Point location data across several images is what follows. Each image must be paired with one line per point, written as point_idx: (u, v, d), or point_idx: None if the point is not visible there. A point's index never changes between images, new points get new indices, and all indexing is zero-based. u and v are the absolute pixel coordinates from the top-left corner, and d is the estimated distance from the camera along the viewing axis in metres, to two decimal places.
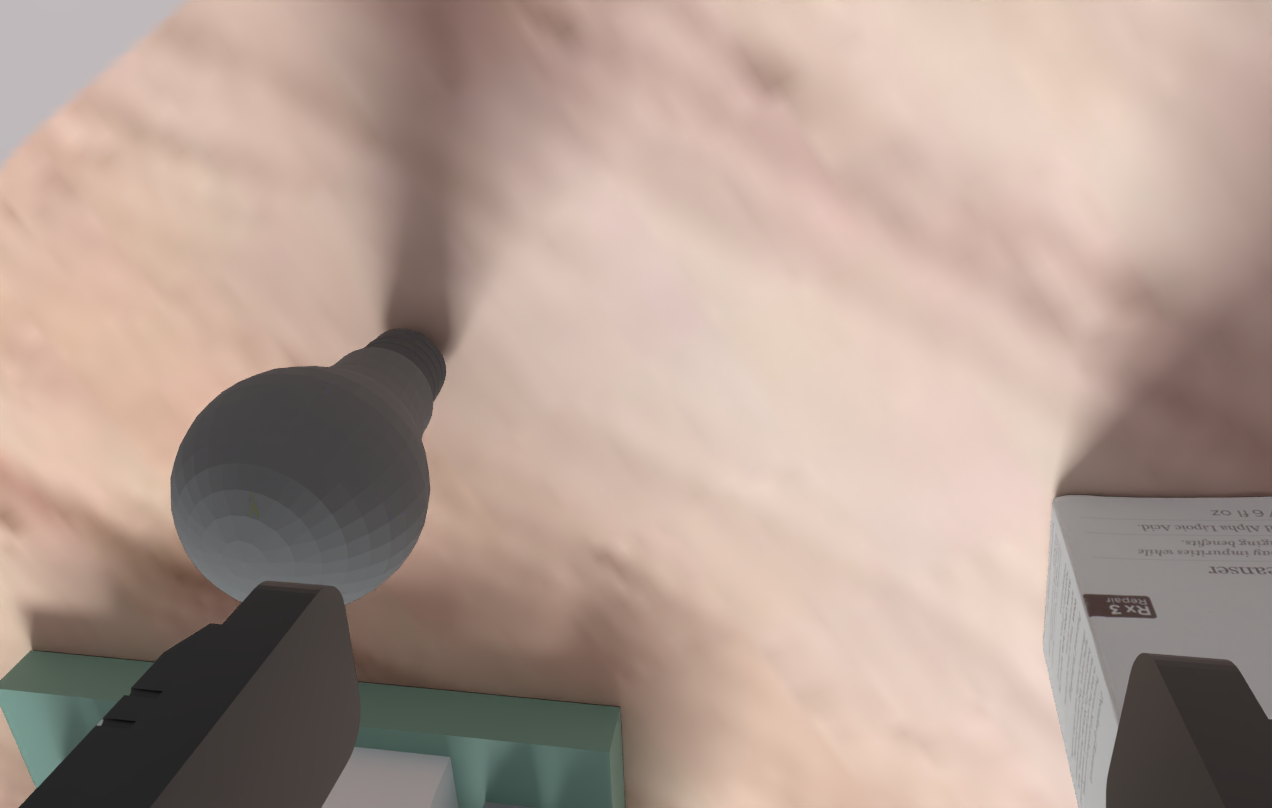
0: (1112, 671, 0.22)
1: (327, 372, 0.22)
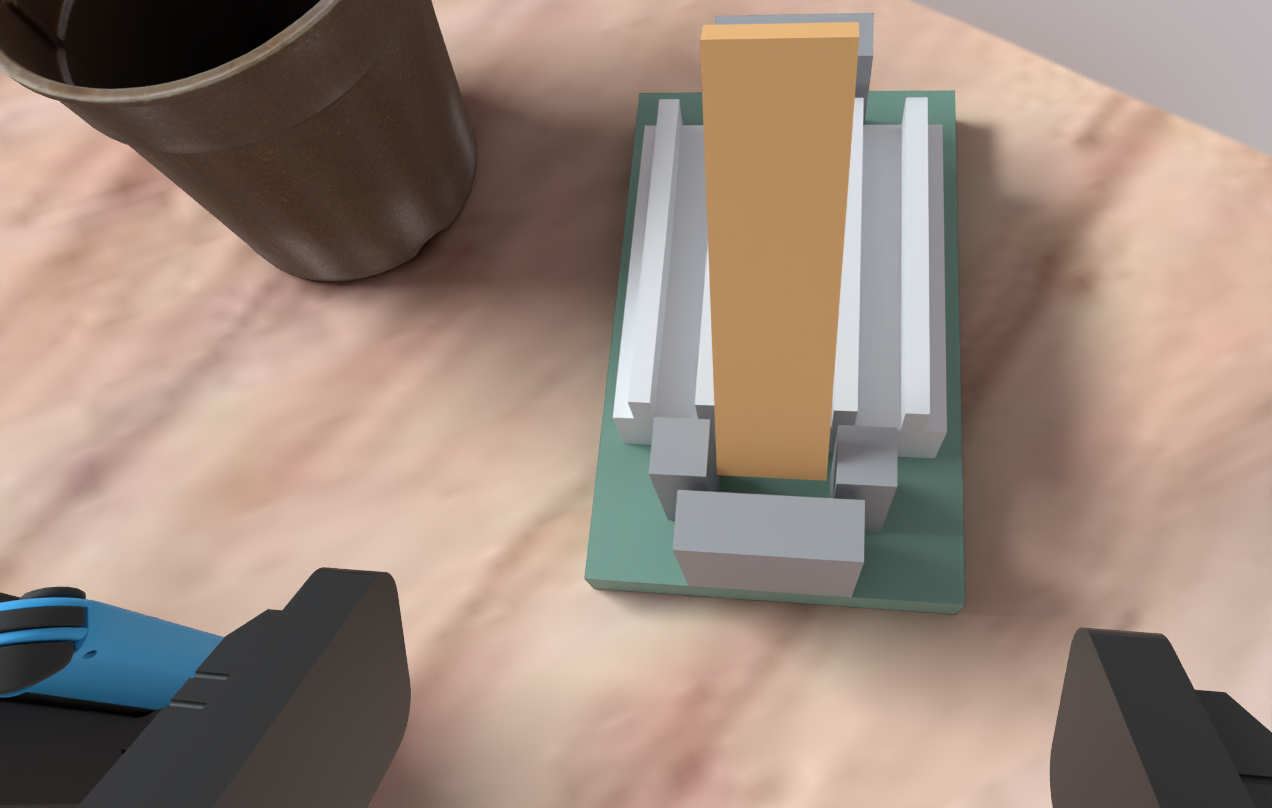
0: None
1: None
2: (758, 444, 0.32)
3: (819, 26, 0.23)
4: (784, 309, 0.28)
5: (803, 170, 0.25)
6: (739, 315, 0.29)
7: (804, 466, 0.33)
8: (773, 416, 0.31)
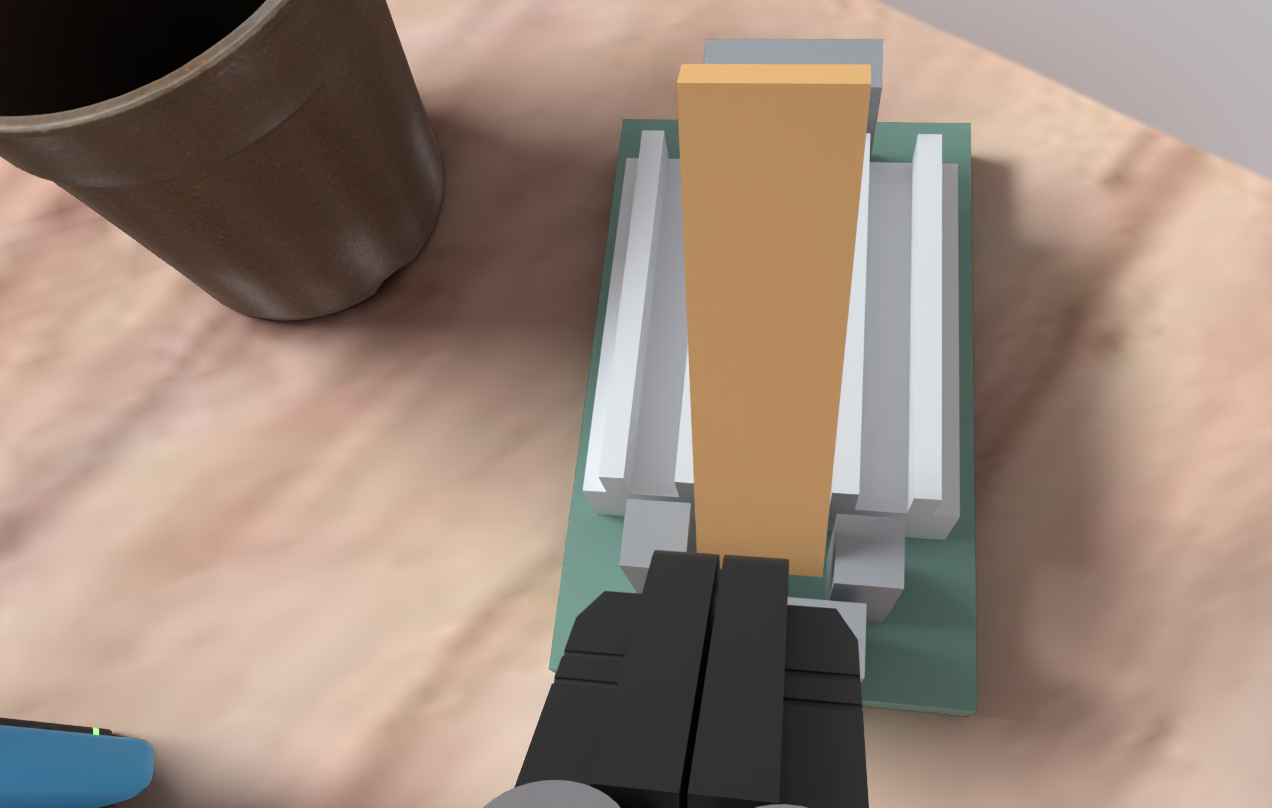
0: None
1: None
2: (744, 536, 0.28)
3: (822, 69, 0.19)
4: (776, 392, 0.24)
5: (800, 237, 0.21)
6: (723, 397, 0.24)
7: (797, 561, 0.28)
8: (762, 507, 0.27)
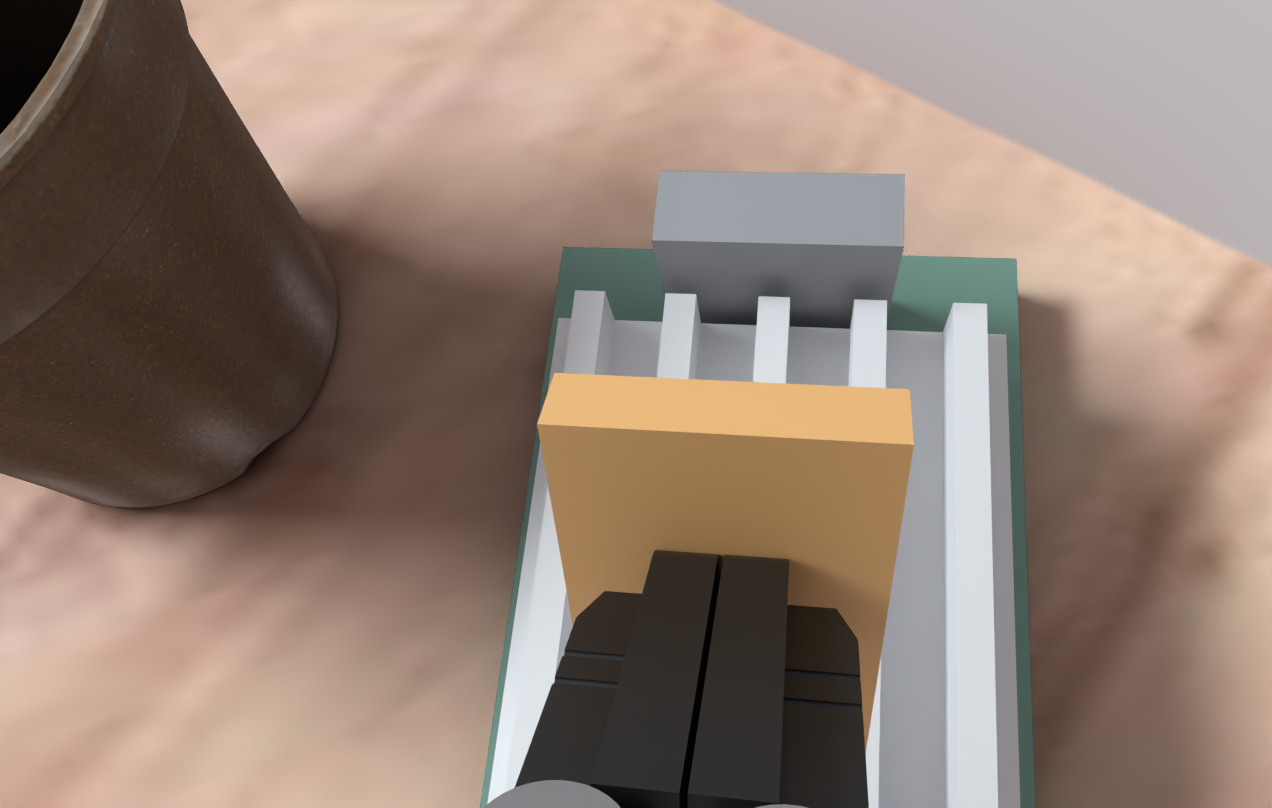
0: None
1: None
2: None
3: (817, 398, 0.10)
4: None
5: None
6: None
7: None
8: None
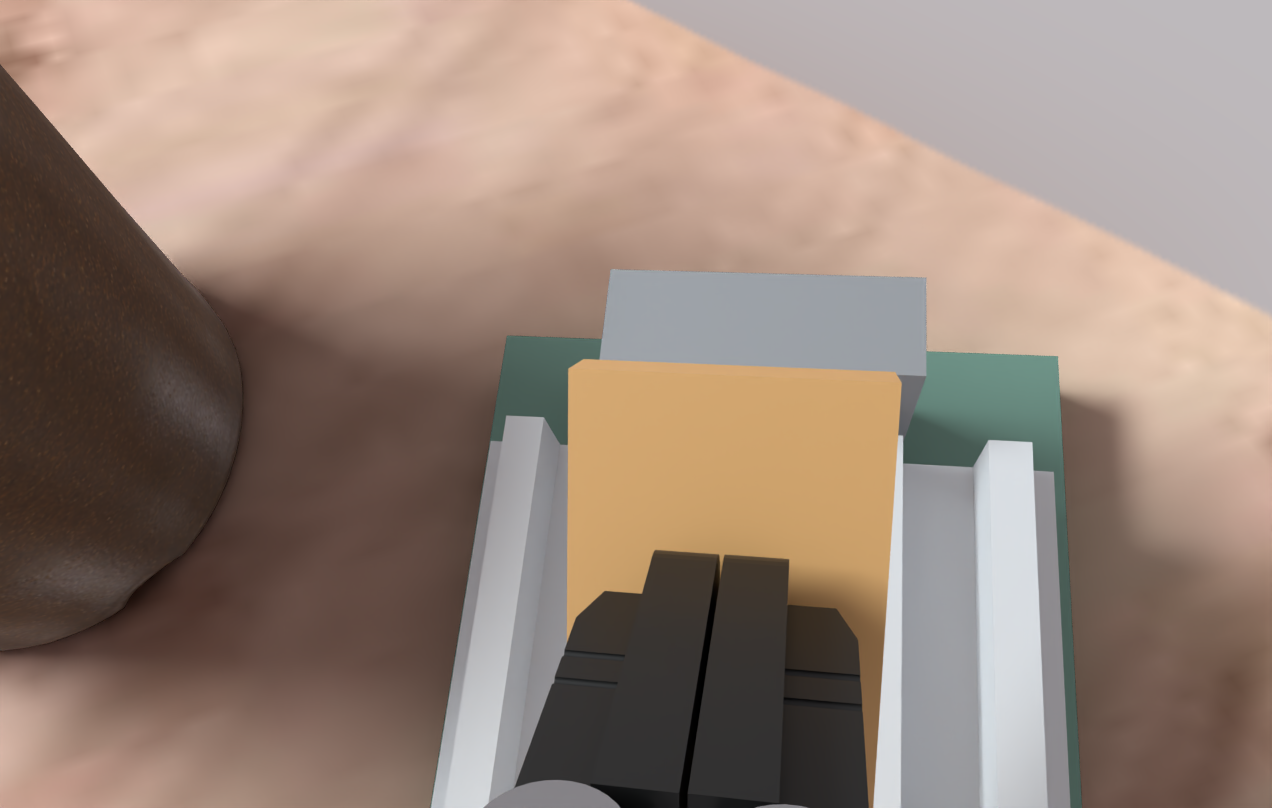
0: None
1: None
2: None
3: (815, 371, 0.11)
4: None
5: None
6: None
7: None
8: None
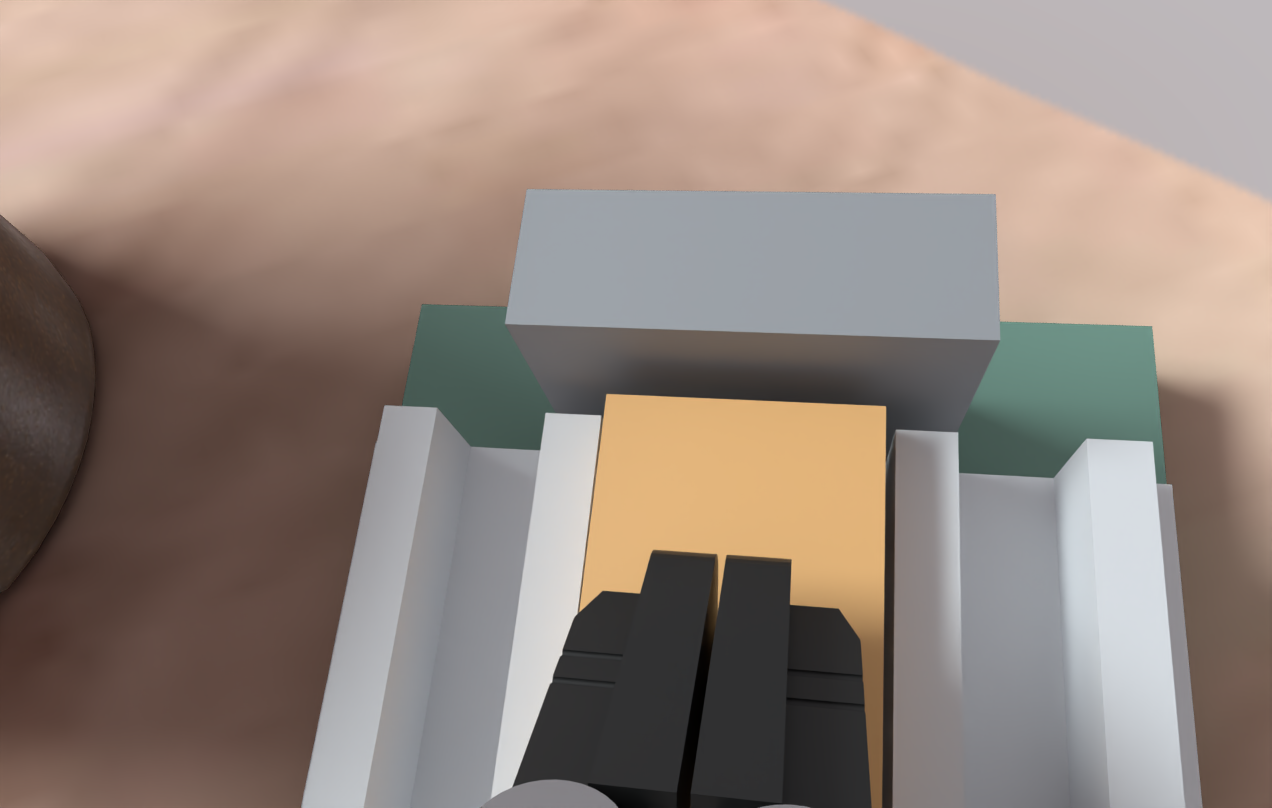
0: None
1: None
2: None
3: None
4: None
5: None
6: None
7: None
8: None
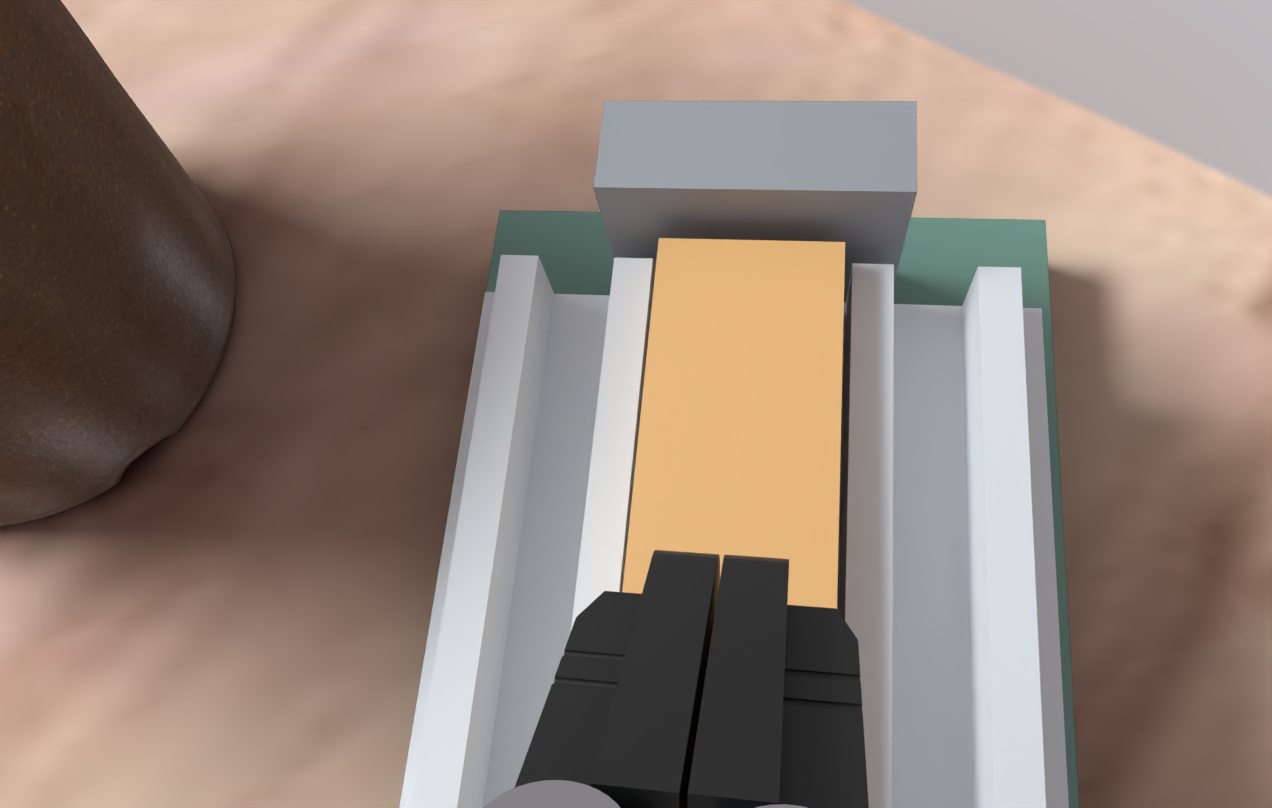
0: None
1: None
2: None
3: None
4: None
5: (777, 404, 0.18)
6: None
7: None
8: None
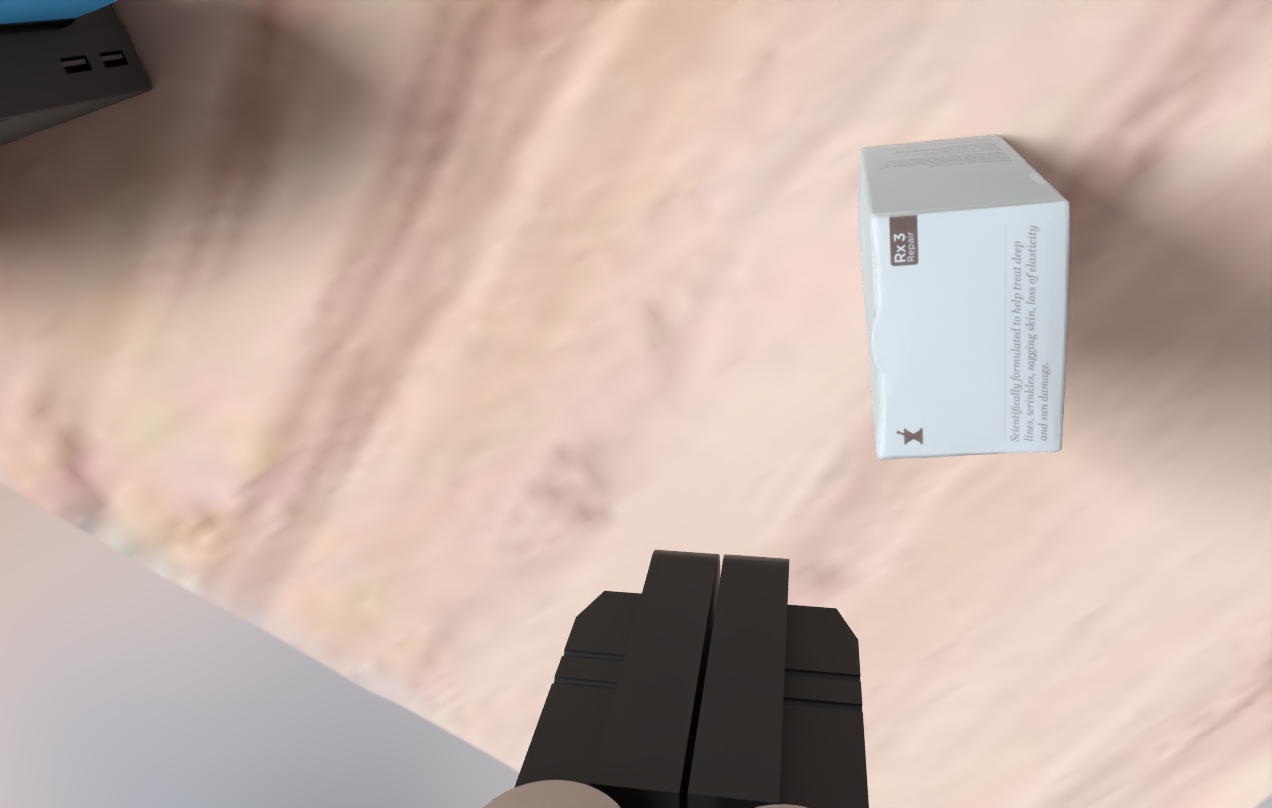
0: None
1: None
2: None
3: None
4: None
5: None
6: None
7: None
8: None
